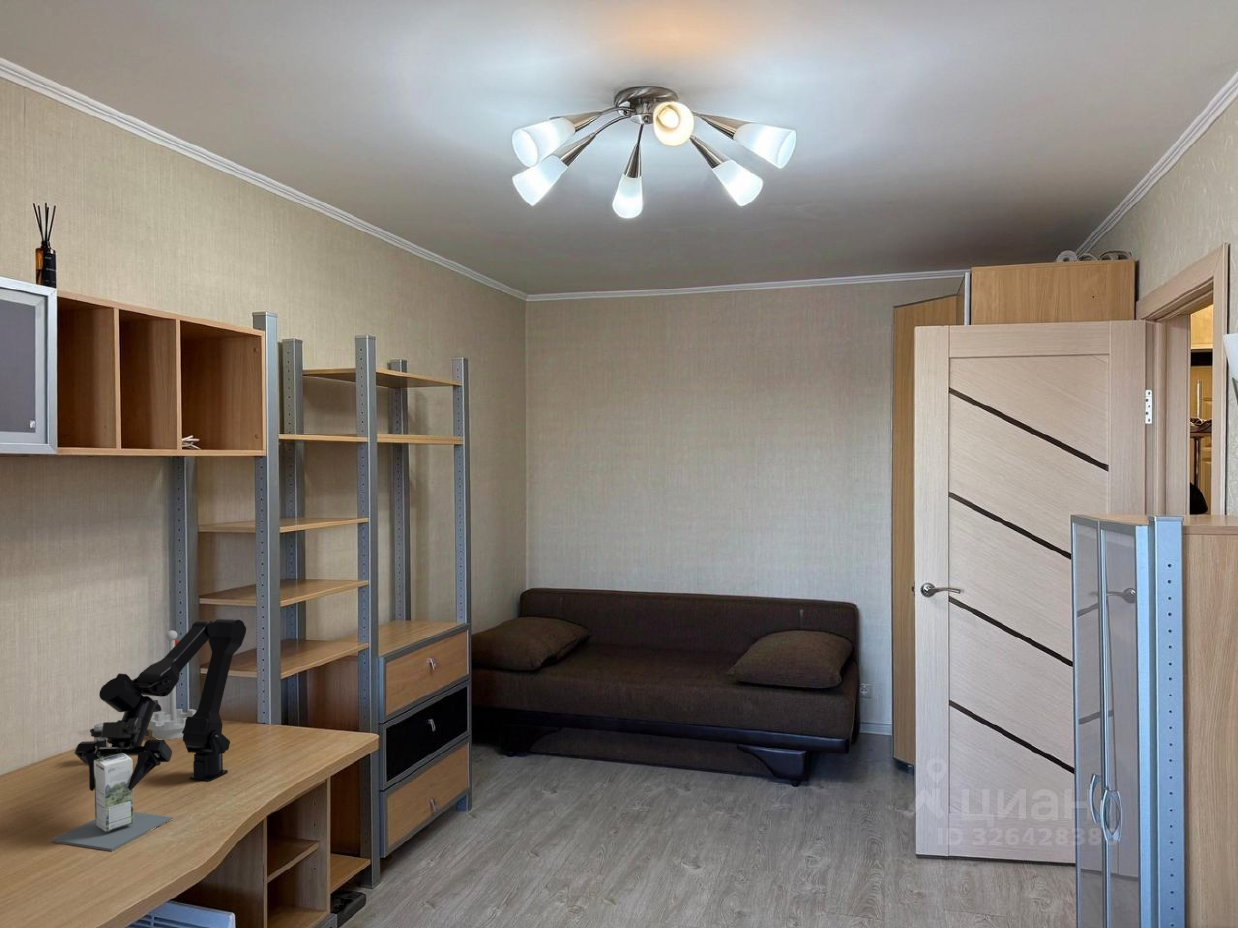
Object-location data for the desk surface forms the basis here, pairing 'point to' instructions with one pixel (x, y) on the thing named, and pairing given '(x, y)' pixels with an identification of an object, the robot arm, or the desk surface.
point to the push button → (99, 735)
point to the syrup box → (113, 792)
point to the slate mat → (111, 833)
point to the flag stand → (174, 721)
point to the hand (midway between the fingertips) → (110, 789)
